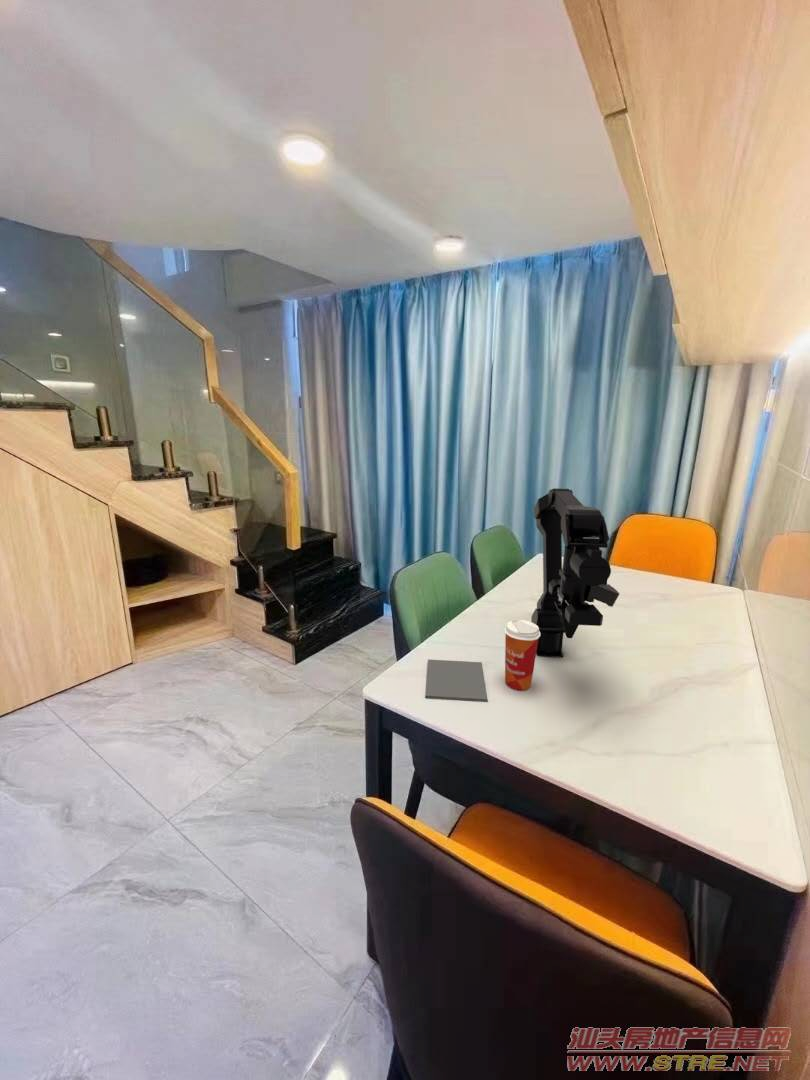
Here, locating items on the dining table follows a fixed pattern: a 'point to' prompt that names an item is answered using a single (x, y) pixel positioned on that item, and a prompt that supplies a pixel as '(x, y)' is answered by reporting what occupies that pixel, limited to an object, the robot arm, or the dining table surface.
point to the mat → (455, 680)
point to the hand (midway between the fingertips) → (569, 637)
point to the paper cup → (520, 653)
